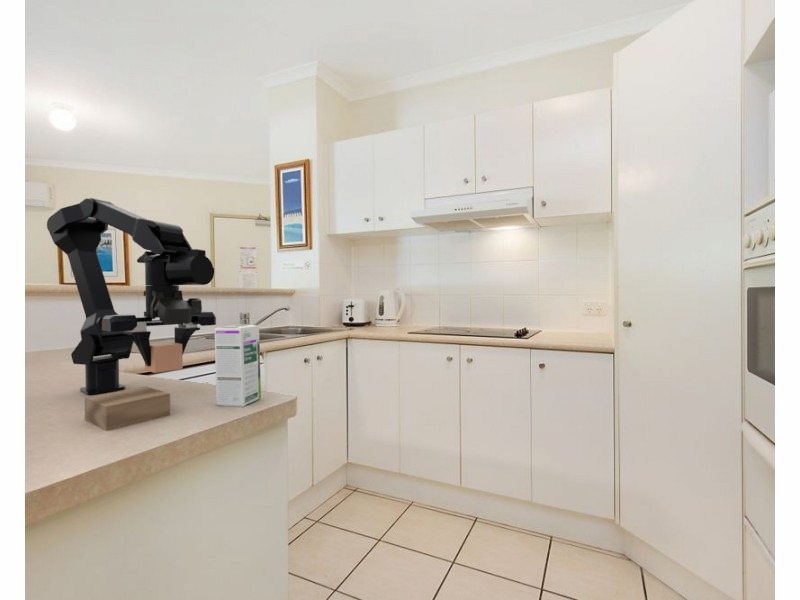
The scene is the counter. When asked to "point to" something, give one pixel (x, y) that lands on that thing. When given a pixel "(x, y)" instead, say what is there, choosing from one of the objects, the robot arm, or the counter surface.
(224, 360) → the syrup box
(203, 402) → the counter surface
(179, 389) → the counter surface
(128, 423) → the walnut block
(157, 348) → the terracotta cube
